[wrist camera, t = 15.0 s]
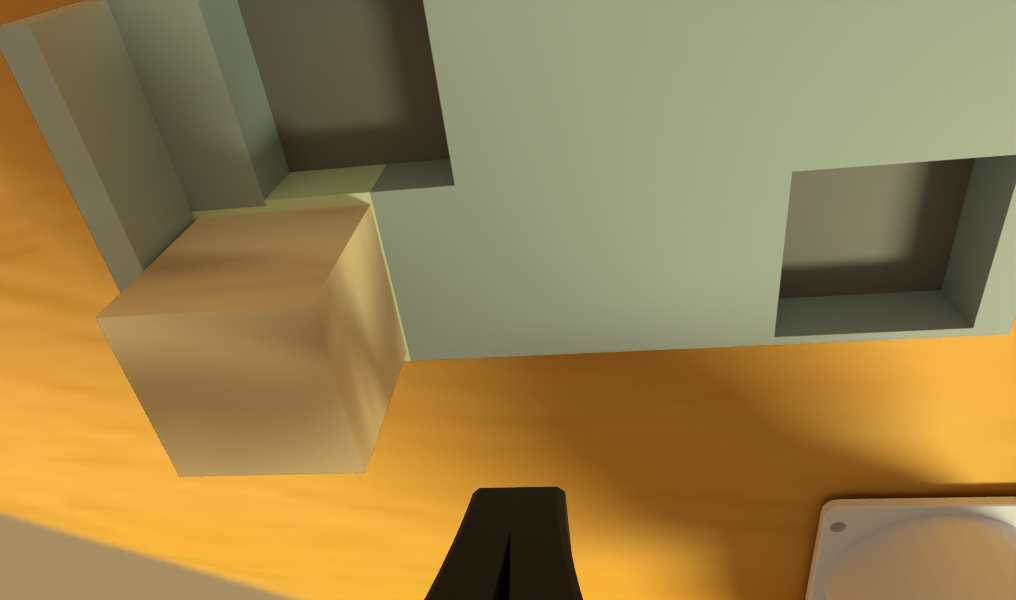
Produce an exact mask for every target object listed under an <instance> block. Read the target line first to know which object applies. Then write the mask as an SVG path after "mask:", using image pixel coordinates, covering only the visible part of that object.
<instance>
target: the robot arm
mask: <svg viewBox="0 0 1016 600" xmlns="http://www.w3.org/2000/svg"><path fill="white" fill-rule="evenodd" d="M424 600H583V598H582V595H581V591H580V588H579V584H578V580H577V576H576V572H575V568H574V563H573V558H572V552H571V543H570V533H569V524H568V515H567V505H566V496H565V492H564V491H563V490H561V489H560V488H558V487H516V488H479V489H478V490H477V491H475V492H474V493H473V495H472V498H471V501H470V503H469V506H468V509H467V511H466V513H465V516H464V518H463V521H462V523H461V525H460V528H459V530H458V532H457V535H456V537H455V539H454V541H453V543H452V546H451V548H450V550H449V552H448V554H447V556H446V558H445V560H444V562H443V564H442V567H441V569H440V571H439V573H438V574H437V576H436V578H435V580H434V582H433V584H432V586H431V588H430V590H429V592H428V594H427V596H426V597H425V599H424ZM805 600H1016V496H1013V497H948V498H882V499H836V500H831V501H829V502H827V503H826V504H825V505H824V506H823V507H822V509H821V515H820V520H819V526H818V531H817V537H816V542H815V548H814V553H813V558H812V564H811V569H810V575H809V580H808V586H807V591H806V597H805Z"/></svg>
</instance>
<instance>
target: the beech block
mask: <svg viewBox="0 0 1016 600" xmlns="http://www.w3.org/2000/svg"><path fill="white" fill-rule="evenodd" d="M96 320H97V322H98V324H99V326H100V328H101V330H102V331H103V333H104V335H105V337H106V339H107V341H108V343H109V345H110V347H111V348H112V350H113V352H114V354H115V356H116V358H117V360H118V362H119V364H120V365H121V367H122V369H123V371H124V373H125V375H126V377H127V379H128V381H129V382H130V384H131V386H132V388H133V390H134V392H135V394H136V396H137V398H138V399H139V401H140V403H141V405H142V407H143V409H144V411H145V413H146V415H147V416H148V418H149V420H150V422H151V424H152V426H153V428H154V430H155V432H156V433H157V435H158V437H159V439H160V441H161V443H162V445H163V447H164V449H165V450H166V452H167V454H168V456H169V458H170V460H171V462H172V464H173V466H174V467H175V469H176V471H177V473H178V475H179V477H201V476H247V475H292V474H338V473H365V472H366V469H367V466H368V464H369V461H370V458H371V455H372V452H373V449H374V446H375V443H376V440H377V437H378V434H379V431H380V428H381V425H382V422H383V419H384V416H385V414H386V411H387V408H388V405H389V402H390V399H391V396H392V393H393V390H394V387H395V384H396V381H397V378H398V375H399V372H400V369H401V367H402V364H403V361H404V358H405V355H406V352H407V351H406V347H405V343H404V339H403V335H402V331H401V327H400V323H399V319H398V315H397V310H396V306H395V302H394V298H393V294H392V290H391V286H390V282H389V278H388V274H387V270H386V266H385V262H384V258H383V254H382V249H381V245H380V241H379V237H378V233H377V229H376V225H375V221H374V217H373V213H372V209H371V205H370V204H369V205H356V206H343V207H329V208H316V209H303V210H290V211H277V212H263V213H250V214H237V215H224V216H211V217H199V218H198V219H197V220H196V221H195V222H194V223H193V224H192V225H191V226H190V227H189V228H188V229H187V230H185V231H184V232H183V233H182V234H181V235H180V236H179V237H178V238H177V239H176V240H175V241H174V242H173V243H172V244H171V245H170V246H169V247H168V248H167V249H166V250H165V251H164V252H163V253H162V254H161V255H160V256H159V257H158V258H157V259H155V260H154V261H153V262H152V263H151V264H150V265H149V266H148V267H147V268H146V269H145V270H144V271H143V272H142V273H141V274H140V275H139V276H138V277H137V278H136V279H135V280H134V281H133V282H132V283H131V284H130V285H129V286H128V287H127V288H126V289H124V290H123V291H122V292H121V293H120V294H119V295H118V296H117V297H116V298H115V299H114V300H113V301H112V302H111V303H110V304H109V305H108V306H107V307H106V308H105V309H104V310H103V311H102V312H101V313H100V314H99V315H98V316H97V317H96Z"/></svg>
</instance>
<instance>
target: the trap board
mask: <svg viewBox="0 0 1016 600" xmlns="http://www.w3.org/2000/svg"><path fill="white" fill-rule="evenodd" d="M0 50H1V52H2V54H3V56H4V58H5V61H6V63H7V65H8V67H9V69H10V71H11V73H12V75H13V77H14V79H15V81H16V83H17V85H18V87H19V89H20V91H21V93H22V95H23V97H24V99H25V101H26V103H27V105H28V107H29V109H30V111H31V113H32V115H33V117H34V119H35V121H36V123H37V125H38V127H39V129H40V131H41V133H42V135H43V137H44V139H45V141H46V143H47V145H48V147H49V149H50V151H51V153H52V156H53V158H54V160H55V162H56V164H57V166H58V168H59V170H60V172H61V174H62V176H63V178H64V180H65V182H66V184H67V186H68V188H69V190H70V192H71V194H72V196H73V198H74V200H75V202H76V204H77V206H78V208H79V210H80V212H81V214H82V216H83V218H84V220H85V222H86V224H87V226H88V228H89V230H90V232H91V234H92V236H93V238H94V240H95V242H96V244H97V246H98V248H99V251H100V253H101V255H102V257H103V259H104V261H105V263H106V265H107V267H108V269H109V271H110V273H111V275H112V277H113V279H114V281H115V283H116V285H117V287H118V289H119V291H120V293H121V292H122V291H123V290H124V289H126V288H127V287H128V286H129V285H130V284H131V283H132V282H133V281H134V280H135V279H136V278H137V277H138V276H139V275H140V274H141V273H142V272H143V271H144V270H145V269H146V268H147V267H148V266H149V265H150V264H151V263H152V262H153V261H154V260H155V259H157V258H158V257H159V256H160V255H161V254H162V253H163V252H164V251H165V250H166V249H167V248H168V247H169V246H170V245H171V244H172V243H173V242H174V241H175V240H176V239H177V238H178V237H179V236H180V235H181V234H182V233H183V232H184V231H185V230H187V229H188V228H189V227H190V226H191V225H192V224H193V223H194V222H195V221H196V220H197V219H198V218H199V217H211V216H224V215H237V214H250V213H263V212H277V211H290V210H303V209H316V208H329V207H343V206H356V205H369V204H370V205H371V209H372V213H373V217H374V221H375V225H376V229H377V233H378V237H379V241H380V245H381V249H382V254H383V258H384V262H385V266H386V270H387V274H388V278H389V282H390V286H391V290H392V294H393V298H394V302H395V306H396V310H397V315H398V319H399V323H400V327H401V331H402V335H403V339H404V343H405V347H406V351H407V352H406V355H405V358H404V361H421V360H443V359H466V358H489V357H511V356H534V355H557V354H579V353H602V352H625V351H647V350H670V349H693V348H715V347H738V346H761V345H783V344H806V343H829V342H851V341H874V340H897V339H919V338H942V337H965V336H987V335H1009V334H1010V331H1011V328H1012V325H1013V322H1014V319H1015V316H1016V0H83V1H79V2H76V3H73V4H69V5H66V6H63V7H59V8H56V9H53V10H49V11H46V12H43V13H39V14H36V15H33V16H29V17H26V18H23V19H19V20H16V21H13V22H9V23H6V24H3V25H0Z"/></svg>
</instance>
